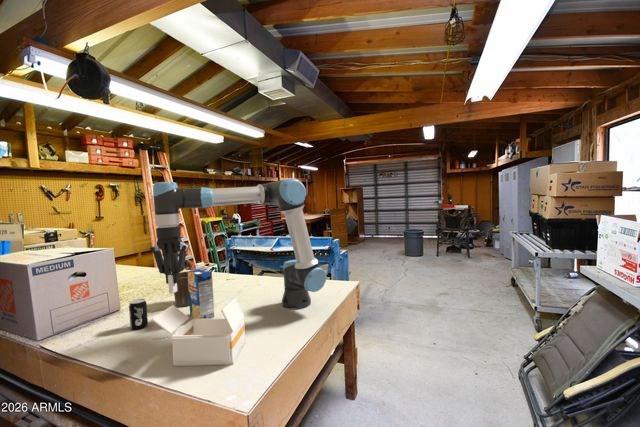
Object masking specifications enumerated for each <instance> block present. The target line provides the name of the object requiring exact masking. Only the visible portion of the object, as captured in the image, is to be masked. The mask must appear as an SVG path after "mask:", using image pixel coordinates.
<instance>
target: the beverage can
mask: <svg viewBox="0 0 640 427" xmlns="http://www.w3.org/2000/svg"><path fill="white" fill-rule="evenodd" d="M147 305H148V304H147V301H146V299H145V298H136V299H134V300H131V301H129V305H128V312H129V314H128V315H129V326H130V329H131V330H132V331H138V330H142V329H145V328H146V327H147V326H148V324H149V322H148V320H149V319H148V306H147Z"/></svg>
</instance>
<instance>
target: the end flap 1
mask: <svg viewBox="0 0 640 427" xmlns="http://www.w3.org/2000/svg"><path fill="white" fill-rule="evenodd" d="M150 319H151V321H152V322H153V323H155V324H156V325H157V326H159V327H160V328H162V330H164V331H165V332H166V333H168V334H169V335H172V333H173V332H175V331H176V330H177V329H178V328H180V326H182V325H184V323H186V322H187V321H188V320H189V319H190V317H189V316H188V315H187V314H185V313H184V312H183V311H181V310H180V309H179V308H177V307H176V305H174V304H172V305H171V306H169V307H166V309H164V310H163V311H161V312H159V313H158V314H157V315H155V316H154V317H152V318H150Z"/></svg>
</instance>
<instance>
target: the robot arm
mask: <svg viewBox="0 0 640 427" xmlns="http://www.w3.org/2000/svg"><path fill="white" fill-rule="evenodd" d="M152 192H153V193H152V194H153V195H152V199H153V208H154V209H153V210H154V222H155V224H154V225H155V227H156V229H155V232H156V234H155V235H156V239H157V241H156V244H155V245H154V246H152V247H150V248H149V250H150V251H151V252H152V254H153V256H154V259H155V262H156V267H157V269H158V273H159V274H162V275H163V274H164V275H165V283H166V284H168V294H169V295H170V294H174V293H175V292H177V283H178V282H179V276H178V273H180V272H184V269H185V263H186V257H187V252H188V249H190V245H189V244H185V243H183V240H182V238H181V237H182V236H181V234H182V233H181V226H180V224H181V223H180V220H181V219H180V209H183V210H184V209H198V208H199V209H201V208H202V209H205V208H211V207H218V206H219V207H220V206H221V207H222V206H231V205H241V204H243V205H244V204H256V203H258V204H259V205H274V206H275V205H276V206H278V208H279V212H280V213H282V214H283V215H284V218H285V222H286V225H287V231H288V234H289V237H290V241H291V246H292V249H293V253H294V256H295V259H291V260H286V261H284V263H283V267H282V270H283V281H284V282H283V284H284V292H283V294H282V299H281V306H282V307H283V308H284V309H288V310H299V309H304V308H307V307H309V306H310V305H311V303H312V299H311V296H310V292H311V293H317V292H319V291H320V290H322V289H323V288H324V286H325V284H326V282H327V273H326V271H325V270H324V269H323V268H322V267H321V266H320V262H319V259H317V258H316V257H315V256H314V251H313V248H312V243H311V240H310V235H309V232H308V231H309V230H308V226H307V223H306V219H305V214H304V211H303V209H304V207H305V200H306V197H307V190H306V187H305V185H304V184H303V183H302V181H300V180H299V179H297V178H285V179H281V180H276V181H273V182H272V181H271V182H267V183H260V184H257V185H256V186H243V187H242V186H241V187H222V188H220V187H219V188H210V187H203V186H201V187H178V184H177V183H176V182H173V181H171V182H170V181H161V182H159V181H158V182H155V183H153V186H152ZM178 254H179V255H178Z"/></svg>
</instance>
